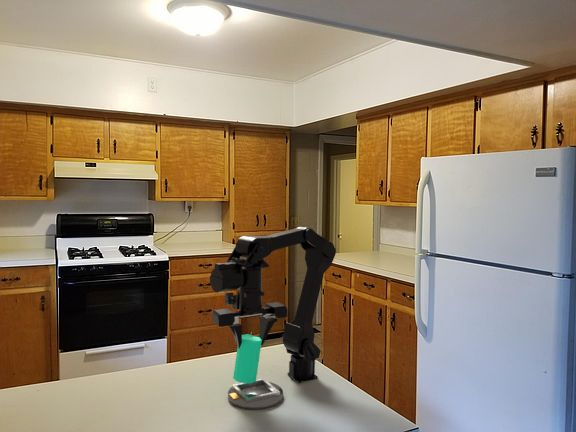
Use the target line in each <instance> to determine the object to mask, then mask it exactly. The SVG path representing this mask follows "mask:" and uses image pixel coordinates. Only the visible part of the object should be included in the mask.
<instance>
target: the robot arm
mask: <svg viewBox="0 0 576 432" xmlns="http://www.w3.org/2000/svg"><path fill="white" fill-rule="evenodd" d="M296 245H300V248H302V249H301V250H303V251H304V252H305V253H304V261H305V264H306V271H305V277H304V281H303V284H302V288H301V293H300V296H299V300H298V305H297V309H296V312H295V315H294V318H293V320H291V321H290V322H286V323H285V324H284V330H283V333H282V335H281V337H282V344H283V345H284V346H283V347H284V348H285V350H286V353H287V354H290V360H289V362H288V363H289V365H288V369H289V370H288V372H287V376H288V377H290V378H291V379H293V380H294V381H295V382H297V383H304V382H308V381H312V380H317V379H318V378H319V377H318V375H317V374H315V373H316V371H315V370H316V368H315V367H316V360H317V359H319V358H320V355H321V352H322V351H321V348H319V347H318V346H317V345H316V344H315V342H314V340H315V330H314V327H313V326H314V325H313V320H314V315H315V311H316V308H317V304H318V299H319V295H320V290H321V288H322V287H321V286H322V282H323V279H324V275H325V272H326V271H328V270H329V269H330V268H331V266H332V265H333V262H334V260H335V256H336V253H337V249H336V247H335V245H334V244H333V242H331V241H329V240H327V238H325V237H323V236H321V235H320V234H318V233H317V232H316V231H315V230H314V229H313V228H311V227H309V226H307V227H305V226H298V227H296V228H293V229H289V230H284V231H280V232H276V233H272V234H269V235H243V236H240V237H239V238H238V239H237V241H236V243H235V247H234V248H233V250H232V251H231V253H230V254H229V257H228V258H227V260H226V262H223V263H222V262H217V263H214V268H213V269H212V270H211V273H210V275H209V283H210V287H211V288H212V290H213V291H214V292H215V293H221V292H226V293H224V305H225V306H226V307H227V306H231V309H232V310H233V309H236V310H237V311H232V310H230V309H229V308H221V309H214V311H213V312H211V313H212V314H211V322H213V323H214V324H215V325H217V326H218V327H219V328H220V327H222V328H223V327H228V328H229V329H230V331H231V332H232V335H233V338H234V341H235V343H236V347H237V348H239V349H240V346H241V344H242V335H243V333H242V332H243V324H241V323H240V320H241V319H247V318H255V317H258V319H259V337H260V338H261V340H262V343H261V347H262V346H263V345H264V344H265V341H266V339H267V337H268V335H269V333H270V331H271V329H272V327H273V326H274V324H275V323H277V322H278V320H279V319H283V318H287V317H288V314H289V310H288V308H287V307H288V306H286V305H284V304H283V303H280V302H278V301H274V302H267V303H266V304H265V305H264V306H263V297H264V296H265V292H264V290H263V284H262V283H263V269H266V268H269V267H270V264H269V263H267V262H266V260H264V259H265V258H267V257H270V255H271V254H272V253H273V252H275V251H279V250H282V249H285V248H288V247H293V246H296ZM234 290H236V294H235V293H234V292H232V291H234ZM227 291H231V292H227Z"/></svg>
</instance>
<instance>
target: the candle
mask: <svg viewBox="0 0 576 432" xmlns="http://www.w3.org/2000/svg"><path fill="white" fill-rule="evenodd" d="M261 343H262V340H261V338H260V336H254V335H252V331H251V332H250V334H248V333H247V334H242V344H241V346H240V349H239V348H238V347H237V348H236V356H235V363H234V369H233V376H232V379H233V380H234V381H235V382H238V383H254V382H256V380H257V376H258V370H259V363H260V356H261V349H262V348H261V347H262V346H261Z"/></svg>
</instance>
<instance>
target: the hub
mask: <svg viewBox="0 0 576 432" xmlns="http://www.w3.org/2000/svg"><path fill="white" fill-rule="evenodd" d="M227 400H228V403H230V405H232V406H233V407H235V408H239V409H242V410H245V411H246V410H248V411H261V410H262V411H263V410H267V409H270V408H274V407H276V406H277V405H279V404H280V403H281V402H282V401H283V400H284V391H283V388H282V387H281V386H279V384H276V383H274V382H272V381H268V380H267V379H266V378H264V377H263V378H258V379H257V378H256V382H254V383H240V382H238V383H234V384H232V385H231V387H229V389H228V391H227Z"/></svg>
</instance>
